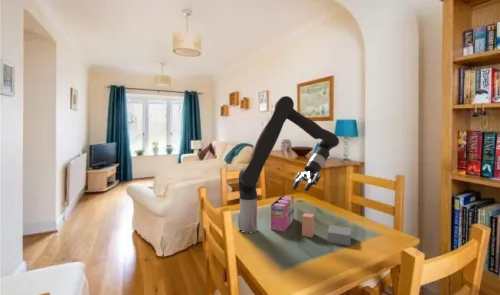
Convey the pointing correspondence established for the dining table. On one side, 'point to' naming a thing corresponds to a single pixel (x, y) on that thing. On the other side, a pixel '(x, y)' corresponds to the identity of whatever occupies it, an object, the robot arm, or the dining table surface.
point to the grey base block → (339, 235)
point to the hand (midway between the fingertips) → (299, 189)
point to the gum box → (282, 213)
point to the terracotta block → (308, 225)
